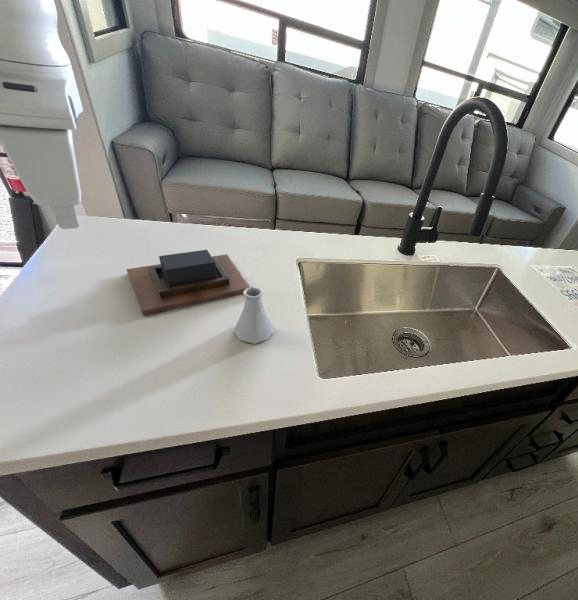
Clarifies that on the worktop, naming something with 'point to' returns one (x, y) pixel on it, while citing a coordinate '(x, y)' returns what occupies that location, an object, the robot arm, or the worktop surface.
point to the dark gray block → (188, 267)
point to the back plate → (184, 287)
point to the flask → (253, 318)
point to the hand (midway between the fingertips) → (65, 209)
